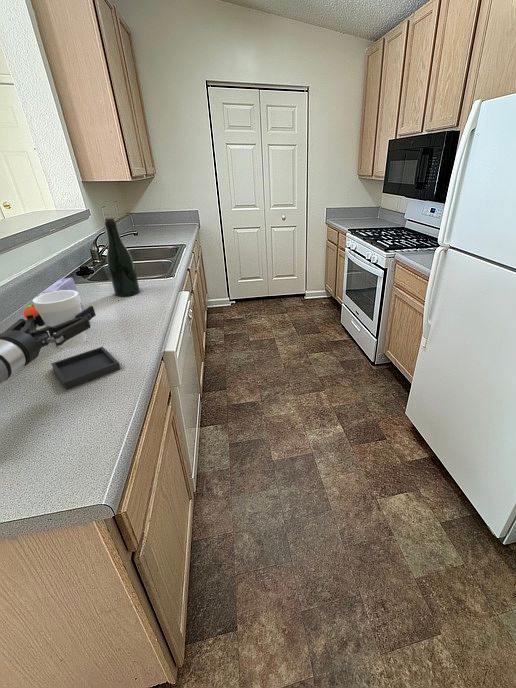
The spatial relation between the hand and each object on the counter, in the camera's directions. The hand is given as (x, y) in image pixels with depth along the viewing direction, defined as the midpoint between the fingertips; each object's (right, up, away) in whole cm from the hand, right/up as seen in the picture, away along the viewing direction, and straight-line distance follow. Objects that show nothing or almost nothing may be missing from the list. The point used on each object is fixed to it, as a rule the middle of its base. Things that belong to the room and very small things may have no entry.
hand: (74, 311), depth 88 cm
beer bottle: (-19, +11, +64) cm, 68 cm away
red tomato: (-38, -3, +36) cm, 53 cm away
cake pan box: (-19, -6, +28) cm, 34 cm away
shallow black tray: (-1, -16, +7) cm, 18 cm away
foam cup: (0, -9, -1) cm, 9 cm away
